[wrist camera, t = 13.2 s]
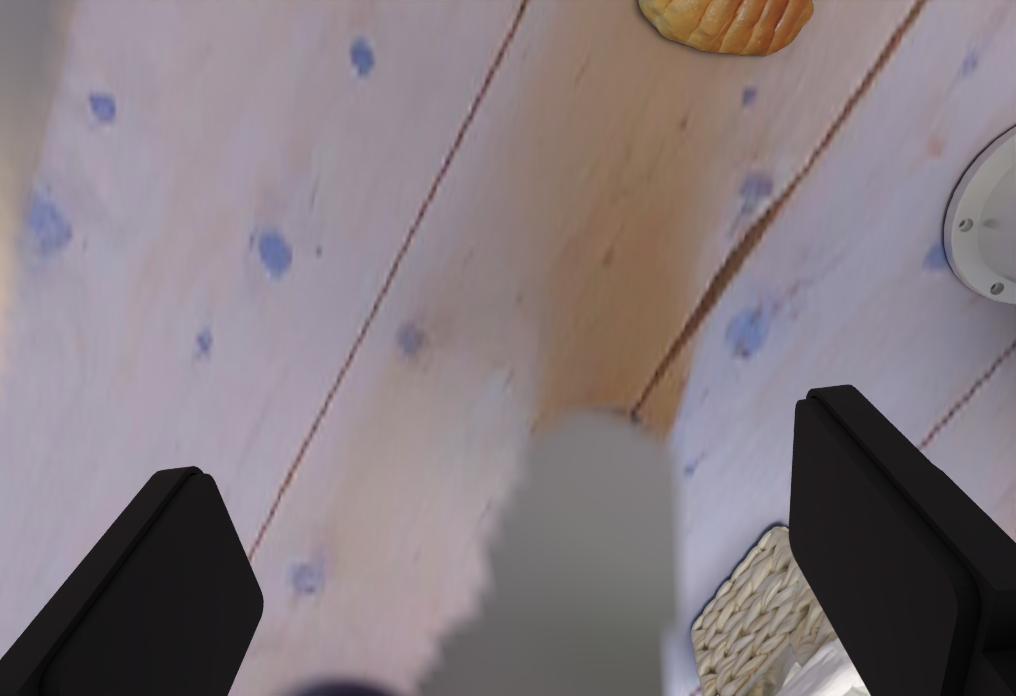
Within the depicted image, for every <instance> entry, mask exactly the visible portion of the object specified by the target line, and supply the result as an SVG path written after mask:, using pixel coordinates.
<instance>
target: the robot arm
mask: <svg viewBox="0 0 1016 696" xmlns="http://www.w3.org/2000/svg"><path fill="white" fill-rule="evenodd" d="M944 247H945V251H946V255H947V260H948V262H949V264H950V266H951V268H952V270H953V272H954V274H955V275H956V276H957V277H958V278H959V279H960V280H961V281H962V283H963V284H964V285H966V286H967V287H969V288H970V289H972V290H973V291H975V292H976V293H978V294H980V295H982V296H984V297H986V298H988V299H991V300H994V301H998V302H1002V303H1006V304H1016V126H1015V127H1014V128H1012V129H1011V130H1009V131H1008V132H1007V133H1005V134H1004V135H1002V136H1001V137H1000V138H998V139H997V140H996V141H994V142H993V143H992V144H991V145H990V146H989V147H988V148H987V149H986V150H985V151H984V152H983V153H982V154H981V155H980V156H979V157H978V158H977V159H976V161H975V162H974V163H973V164H972V166H971V167H970V168H969V169H968V171H967V172H966V173H965V175H964V176H963V178H962V180H961V182H960V183H959V185H958V187H957V188H956V190H955V192H954V195H953V197H952V200H951V202H950V205H949V208H948V210H947V215H946V220H945V225H944ZM789 544H790V548H791V551H792V554H793V557H794V559H795V561H796V563H797V564H798V566H799V568H800V570H801V572H802V573H803V575H804V577H805V579H806V580H807V582H808V584H809V586H810V588H811V589H812V591H813V593H814V595H815V597H816V598H817V600H818V602H819V604H820V606H821V607H822V609H823V611H824V613H825V615H826V616H827V618H828V620H829V622H830V624H831V625H832V627H833V629H834V631H835V633H836V634H837V636H838V638H839V640H840V642H841V643H842V645H843V647H844V649H845V650H846V652H847V654H848V656H849V658H850V659H851V661H852V663H853V665H854V667H855V668H856V670H857V672H858V674H859V676H860V677H861V679H862V681H863V683H864V685H865V686H866V688H867V690H868V692H869V694H870V695H871V696H1016V543H1015V542H1014V541H1013V540H1012V539H1011V538H1010V537H1009V536H1008V535H1007V534H1006V533H1005V532H1004V531H1003V530H1002V529H1001V528H1000V527H999V526H998V525H997V524H996V523H995V522H994V521H993V520H992V519H991V518H990V517H989V516H988V515H987V514H986V513H985V512H984V511H983V510H982V509H981V508H980V507H979V506H978V505H977V504H976V503H975V502H973V501H972V500H971V499H970V498H969V497H968V496H967V495H966V494H965V493H964V492H963V491H962V490H961V489H960V488H959V487H958V486H957V485H956V484H955V483H954V482H953V481H952V480H951V479H950V478H949V477H948V476H947V475H946V474H945V473H944V472H943V471H942V470H940V469H939V468H938V467H936V466H935V465H933V464H932V463H931V462H930V461H929V460H928V459H927V458H926V457H925V456H924V455H923V454H922V453H921V452H920V451H919V450H918V449H917V448H916V447H915V446H914V445H913V444H912V443H911V442H910V441H909V440H908V439H907V438H906V437H905V436H904V435H903V434H902V433H901V432H900V431H899V430H898V429H897V428H896V427H895V426H894V425H893V424H892V423H891V422H890V421H889V420H888V419H887V418H885V417H884V416H883V415H882V414H881V413H880V412H879V411H878V410H877V409H876V408H875V407H874V406H873V405H872V404H871V403H870V402H869V401H868V400H867V399H866V398H865V397H864V396H863V395H862V394H861V393H860V392H859V391H858V390H857V389H856V388H855V387H853V386H852V385H840V386H832V387H824V388H815V389H811V390H810V391H808V394H807V396H806V399H803V400H799V401H797V404H796V408H795V422H794V441H793V460H792V478H791V497H790V515H789ZM263 603H264V601H263V595H262V592H261V589H260V587H259V584H258V582H257V580H256V577H255V575H254V573H253V570H252V568H251V566H250V563H249V561H248V558H247V556H246V554H245V551H244V549H243V547H242V544H241V542H240V540H239V537H238V535H237V532H236V530H235V528H234V525H233V523H232V521H231V518H230V516H229V514H228V511H227V509H226V506H225V504H224V502H223V499H222V497H221V495H220V492H219V490H218V488H217V485H216V483H215V481H214V479H213V477H212V476H211V475H210V474H204V473H203V472H202V470H200V469H199V468H198V467H195V466H191V467H183V468H175V469H167V470H161V471H157V472H156V473H155V474H154V475H153V476H152V477H151V478H150V479H149V480H148V482H147V483H146V484H145V485H144V487H143V488H142V489H141V490H140V491H139V493H138V494H137V495H136V496H135V497H134V499H133V500H132V501H131V502H130V504H129V505H128V506H127V507H126V508H125V510H124V511H123V512H122V513H121V514H120V516H119V517H118V518H117V519H116V520H115V522H114V523H113V524H112V525H111V527H110V528H109V529H108V530H107V531H106V533H105V534H104V535H103V536H102V537H101V539H100V540H99V541H98V542H97V543H96V545H95V546H94V547H93V548H92V550H91V551H90V552H89V553H88V554H87V556H86V557H85V558H84V559H83V560H82V562H81V563H80V564H79V565H78V566H77V568H76V569H75V570H74V571H73V573H72V574H71V575H70V576H69V577H68V579H67V580H66V581H65V582H64V583H63V585H62V586H61V587H60V588H59V589H58V591H57V592H56V593H55V594H54V596H53V597H52V598H51V599H50V600H49V602H48V603H47V604H46V605H45V606H44V608H43V609H42V610H41V611H40V612H39V614H38V615H37V616H36V617H35V619H34V620H33V621H32V622H31V623H30V625H29V626H28V627H27V628H26V629H25V631H24V632H23V633H22V634H21V636H20V637H19V638H18V639H17V640H16V642H15V643H14V644H13V645H12V646H11V648H10V649H9V650H8V651H7V652H6V654H5V655H4V656H3V657H2V659H1V660H0V696H227V695H228V693H229V691H230V689H231V686H232V684H233V682H234V679H235V677H236V675H237V672H238V670H239V668H240V665H241V663H242V661H243V658H244V656H245V654H246V651H247V649H248V647H249V644H250V642H251V640H252V638H253V635H254V633H255V631H256V628H257V626H258V624H259V621H260V619H261V616H262V613H263Z"/></svg>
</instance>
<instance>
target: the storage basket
mask: <svg viewBox="0 0 1016 696" xmlns="http://www.w3.org/2000/svg"><path fill="white" fill-rule="evenodd" d="M691 630H692V631H691V640H692V643H693V649H694V653H695V662H696V664H697V674H698V676H699V681H700V685H701V687H702V696H717V695H719V696H871V695H870V694H869V692H868V690H867V688H866V686H865V685H864V683H863V681H862V679H861V677H860V676H859V674H858V672H857V670H856V668H855V667H854V665H853V663H852V661H851V659H850V658H849V656H848V654H847V652H846V650H845V649H844V647H843V645H842V643H841V642H840V640H839V638H838V636H837V634H836V633H835V631H834V629H833V627H832V625H831V624H830V622H829V620H828V618H827V616H826V615H825V613H824V611H823V609H822V607H821V606H820V604H819V602H818V600H817V598H816V597H815V595H814V593H813V591H812V589H811V588H810V586H809V584H808V582H807V580H806V579H805V577H804V575H803V573H802V572H801V570H800V568H799V566H798V564H797V563H796V561H795V559H794V557H793V554H792V551H791V548H790V544H789V529H788V528H786V527H774V528H772V529H771V530H770V531H768V532H767V533H766V534H765V535H764V536H763V537H762V539H761V540H760V541H759V543H758V545H757V546H755V547H754V548H753V549H752V550H751V551H750V552H749V554H748V555H747V557H746V559H745V560H744V561H743V562H742V563H741V564H740V565H739V566H738V567H737V568H736V570H735V571H734V573H733V575H732V577H731V579H730V580H727V581H726V582H725V583H724V584H723V585H722V586H721V588H720V589H719V591H718V592H717V594H716V597H715V599H714V600H712V601H711V602H710V603H709V604H708V605H707V606H706V608H705V609H704V611H703V614H702V615H701V616H700V617H699V618H698V619H697V620H696V621H695V623H694V625H693V627H692V629H691Z"/></svg>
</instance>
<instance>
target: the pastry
mask: <svg viewBox="0 0 1016 696" xmlns="http://www.w3.org/2000/svg"><path fill="white" fill-rule="evenodd" d="M639 6H640V8H641V11H642V12H643V14H644V16H645V17H646V18H647V19H648V20H649V21H650V22H651V23H652V24H653V25H654V26H655V27H656V28H657V29H658V31H659V32H660V33H661V35H662V36H664V37H665V38H667V39H669V40H674V41H678V42H681V43H683V44H685V45H689V46H692V47H694V48H696V49H698V50H700V51H704V52H706V51H709V52H715V53H730V54H738V55H750V56H753V55H758V56H767V55H770V54H772V53H774V52H777V51H778V50H780V49H782V48H784V47H785V46H787V45H789V44H790V43H791V42H792V41H793V40H794V38H795V37H796V36H797V34H798V33H799V31H800V30H801V28H802V27H803V26H804V25H805V24H806V23H807V22H808V21H809V19H810V18H811V16H812V14H813V11H814V9H813V3H812V0H639Z"/></svg>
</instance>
